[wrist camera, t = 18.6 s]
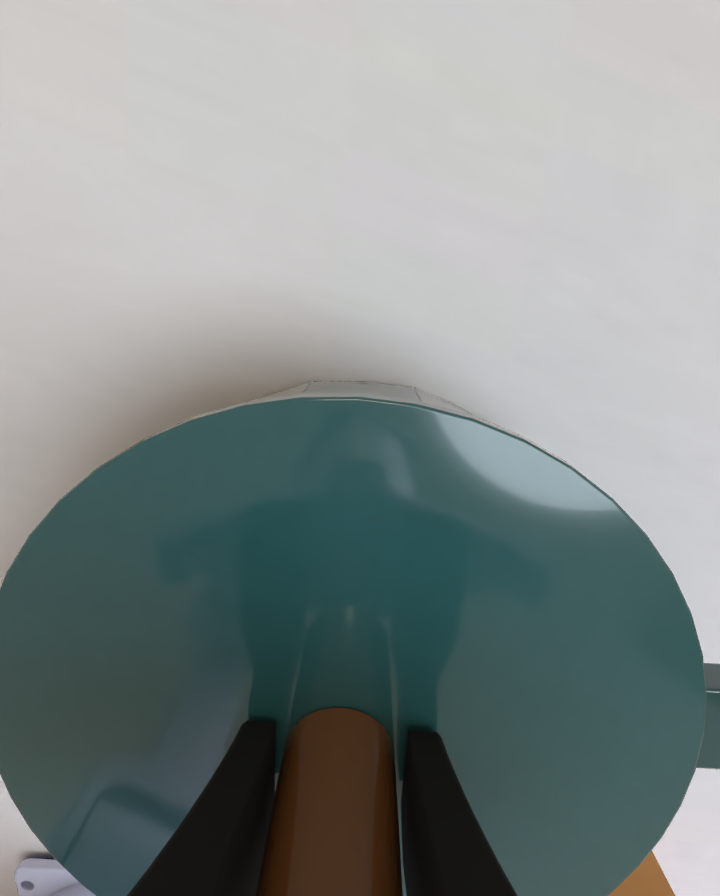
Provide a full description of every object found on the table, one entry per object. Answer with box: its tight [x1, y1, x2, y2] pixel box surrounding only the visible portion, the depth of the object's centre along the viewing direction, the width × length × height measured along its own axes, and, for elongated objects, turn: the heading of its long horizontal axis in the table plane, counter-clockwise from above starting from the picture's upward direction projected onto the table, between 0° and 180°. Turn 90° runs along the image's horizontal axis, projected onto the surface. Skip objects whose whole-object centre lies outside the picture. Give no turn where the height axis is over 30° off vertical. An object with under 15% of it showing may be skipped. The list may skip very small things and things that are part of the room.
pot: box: [257, 381, 720, 769], centre depth 14 cm, size 15×20×6 cm
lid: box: [0, 393, 707, 896], centre depth 9 cm, size 16×16×5 cm
